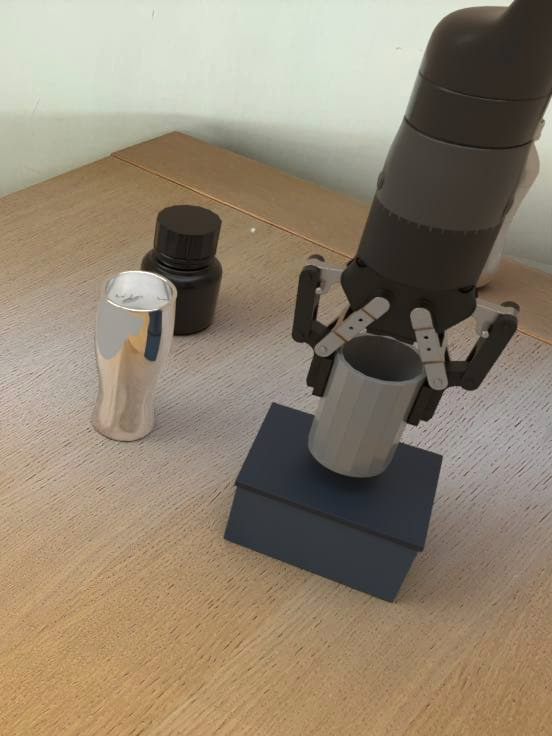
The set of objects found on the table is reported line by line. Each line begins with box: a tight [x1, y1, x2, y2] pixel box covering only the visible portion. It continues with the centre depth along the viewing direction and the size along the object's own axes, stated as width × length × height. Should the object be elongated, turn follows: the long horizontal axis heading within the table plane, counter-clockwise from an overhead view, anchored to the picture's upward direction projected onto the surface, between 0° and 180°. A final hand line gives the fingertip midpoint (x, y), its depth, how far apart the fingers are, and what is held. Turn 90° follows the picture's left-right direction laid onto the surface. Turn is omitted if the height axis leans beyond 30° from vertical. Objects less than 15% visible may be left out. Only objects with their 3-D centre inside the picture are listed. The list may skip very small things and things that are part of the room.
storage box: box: [223, 401, 444, 604], centre depth 68 cm, size 14×11×7 cm
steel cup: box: [308, 331, 427, 478], centre depth 62 cm, size 6×6×9 cm
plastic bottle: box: [476, 118, 546, 289], centre depth 94 cm, size 6×7×20 cm
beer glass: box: [91, 269, 177, 442], centre depth 76 cm, size 7×7×15 cm
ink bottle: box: [139, 204, 224, 335], centre depth 91 cm, size 10×9×12 cm
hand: (364, 403), depth 62 cm, fingers closed on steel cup, 6 cm apart
